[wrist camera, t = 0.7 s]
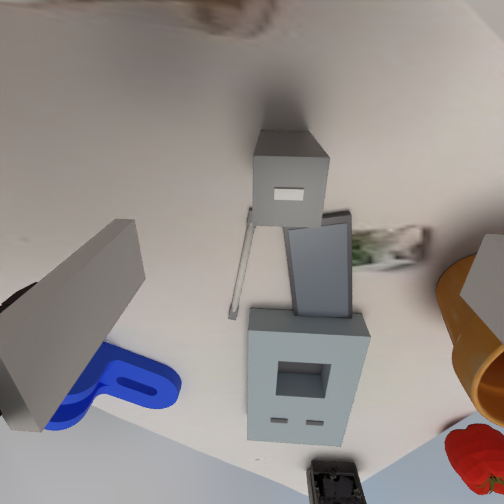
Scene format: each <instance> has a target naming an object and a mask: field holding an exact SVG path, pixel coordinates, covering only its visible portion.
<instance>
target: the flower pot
mask: <svg viewBox="0 0 504 504" xmlns="http://www.w3.org/2000/svg"><path fill="white" fill-rule="evenodd" d="M476 255H477V254H474V255H471V256H468V257H466V258H463V259H461V260H459V261H457V262H456V263H455V264H453V265H452V266H451V267H449V268H448V269H447V270H446V271H445V272H444V274H443V275H442V276H441V278H440V280H439V282H438V284H437V288H436V298H437V301H438V304H439V307H440V310H441V313H442V316H443V319H444V322H445V324H446V327H447V330H448V333H449V335H450V338H451V340H452V343H453V346H454V347H453V351H452V364H453V368H454V370H455V373H456V375H457V377H458V379H459V380H460V382H461V384H462V386H463V388H464V389H465V391H466V393H467V394H468V396H469V398H470V399H471V401H472V403H473V404H474V406H475V407H476V409H477V410H478V412H479V413H480V414H481V415H482V416H484V417H485V418H486V419H488V420H489V421H491V422H493V423H495V424H497V425H499V426H502V427H504V344H503V343H502V342H501V341H500V340H499V339H498V338H497V336H496V335H495V334H494V333H493V332H492V331H491V330H490V329H489V327H488V326H487V325H486V324H485V323H484V322H483V321H482V320H481V318H480V317H479V316H478V315H477V314H476V313H475V312H474V311H473V309H472V308H471V307H470V306H469V305H468V304H467V303H466V302H465V300H464V299H463V298H462V297H461V296H460V293H461V290H462V288H463V285H464V283H465V281H466V278H467V276H468V274H469V271H470V269H471V267H472V264H473V262H474V259H475V257H476Z"/></svg>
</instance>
